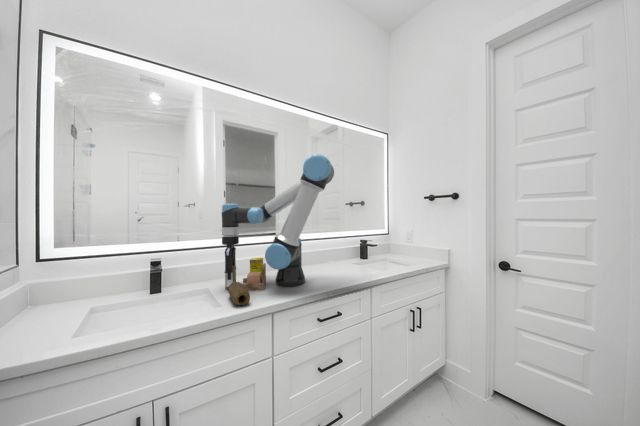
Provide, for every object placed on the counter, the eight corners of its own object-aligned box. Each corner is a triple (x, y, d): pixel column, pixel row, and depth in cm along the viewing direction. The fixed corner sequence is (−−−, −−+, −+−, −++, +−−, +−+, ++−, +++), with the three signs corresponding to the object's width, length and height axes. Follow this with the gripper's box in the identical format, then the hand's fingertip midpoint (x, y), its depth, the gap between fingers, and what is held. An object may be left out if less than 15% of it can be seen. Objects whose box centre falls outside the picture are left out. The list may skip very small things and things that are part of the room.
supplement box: (260, 279, 128) (260, 259, 128) (249, 279, 128) (249, 259, 128) (263, 276, 134) (263, 257, 134) (252, 276, 134) (252, 257, 134)
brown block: (261, 283, 119) (261, 264, 120) (260, 288, 113) (260, 267, 113) (228, 285, 117) (227, 265, 117) (224, 290, 110) (224, 268, 110)
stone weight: (225, 297, 101) (225, 282, 101) (241, 294, 105) (241, 279, 105) (234, 309, 88) (234, 291, 88) (253, 304, 92) (253, 287, 92)
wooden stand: (265, 282, 122) (265, 263, 122) (264, 289, 111) (264, 268, 111) (243, 284, 120) (243, 264, 120) (239, 291, 109) (239, 269, 109)
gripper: (226, 234, 122) (226, 280, 122) (217, 237, 105) (217, 291, 104) (241, 234, 123) (241, 279, 123) (235, 237, 106) (235, 289, 106)
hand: (230, 284), depth 114 cm, fingers closed on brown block, 4 cm apart
